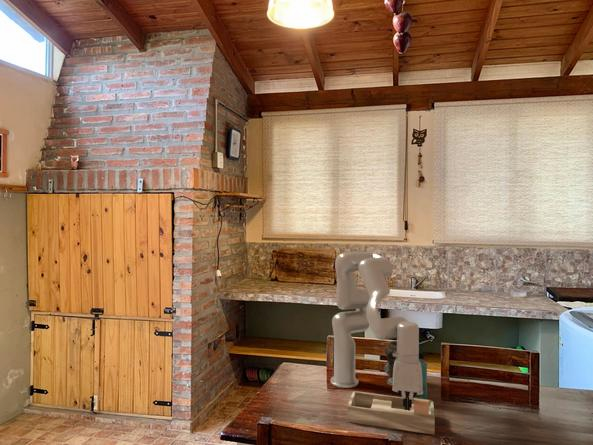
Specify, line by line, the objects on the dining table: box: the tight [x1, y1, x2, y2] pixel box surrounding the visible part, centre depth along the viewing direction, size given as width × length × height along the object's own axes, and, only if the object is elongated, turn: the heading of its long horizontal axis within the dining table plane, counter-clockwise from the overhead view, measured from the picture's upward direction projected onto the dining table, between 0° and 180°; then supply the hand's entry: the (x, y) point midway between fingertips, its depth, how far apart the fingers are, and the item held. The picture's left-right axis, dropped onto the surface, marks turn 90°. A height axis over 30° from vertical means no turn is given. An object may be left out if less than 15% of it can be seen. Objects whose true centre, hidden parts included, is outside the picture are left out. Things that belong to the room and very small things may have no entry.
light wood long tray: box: [346, 390, 436, 436], centre depth 150 cm, size 14×30×6 cm, turn 74°
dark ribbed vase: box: [383, 340, 397, 387], centre depth 183 cm, size 12×12×18 cm
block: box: [414, 398, 430, 416], centre depth 143 cm, size 5×5×5 cm
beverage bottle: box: [414, 350, 428, 400], centre depth 164 cm, size 6×7×20 cm
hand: (407, 408), depth 145 cm, fingers closed
